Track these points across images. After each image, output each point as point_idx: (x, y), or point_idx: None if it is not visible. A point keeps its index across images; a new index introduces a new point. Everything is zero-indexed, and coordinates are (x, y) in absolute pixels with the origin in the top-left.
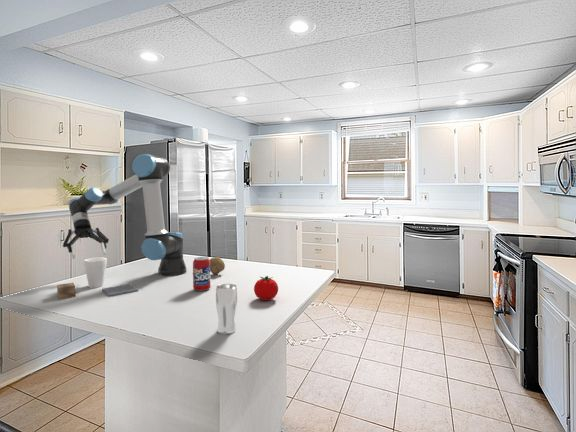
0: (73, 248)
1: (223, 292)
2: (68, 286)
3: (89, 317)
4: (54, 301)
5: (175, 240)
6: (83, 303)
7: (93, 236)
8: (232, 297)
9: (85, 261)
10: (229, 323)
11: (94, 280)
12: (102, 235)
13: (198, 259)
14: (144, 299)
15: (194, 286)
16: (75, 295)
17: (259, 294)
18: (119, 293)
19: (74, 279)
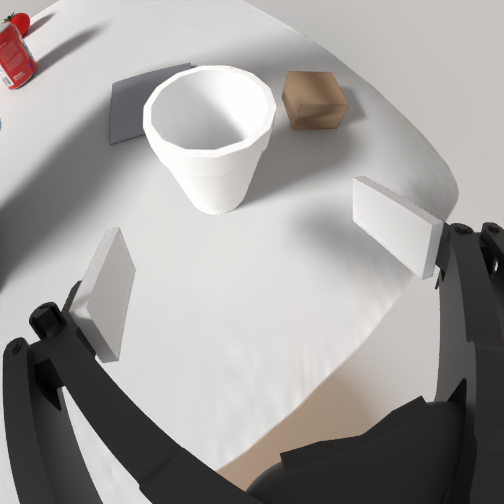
0: (398, 203)
1: None
2: (305, 72)
3: (241, 5)
4: None
5: None
6: (255, 49)
7: (174, 442)
8: None
9: (265, 86)
10: None
11: (223, 141)
12: (24, 424)
13: (8, 22)
14: (131, 40)
15: (34, 62)
16: (282, 95)
17: (29, 20)
18: (164, 69)
19: (316, 365)
